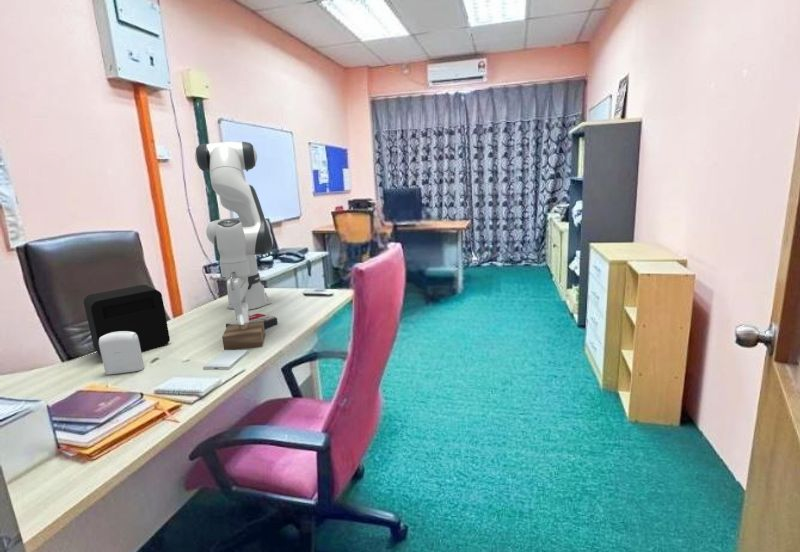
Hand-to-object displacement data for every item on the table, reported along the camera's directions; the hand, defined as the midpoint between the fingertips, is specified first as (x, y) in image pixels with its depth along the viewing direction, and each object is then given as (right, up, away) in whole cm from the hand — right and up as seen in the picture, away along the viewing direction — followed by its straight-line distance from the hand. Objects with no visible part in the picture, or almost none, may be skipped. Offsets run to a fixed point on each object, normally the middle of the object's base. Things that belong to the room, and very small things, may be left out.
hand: (241, 310), depth 145 cm
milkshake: (0, -7, +2) cm, 7 cm away
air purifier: (-38, -14, +3) cm, 41 cm away
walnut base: (+1, -11, +2) cm, 12 cm away
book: (-2, -9, +17) cm, 19 cm away
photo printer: (-29, -17, -16) cm, 37 cm away
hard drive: (0, -15, -12) cm, 19 cm away
